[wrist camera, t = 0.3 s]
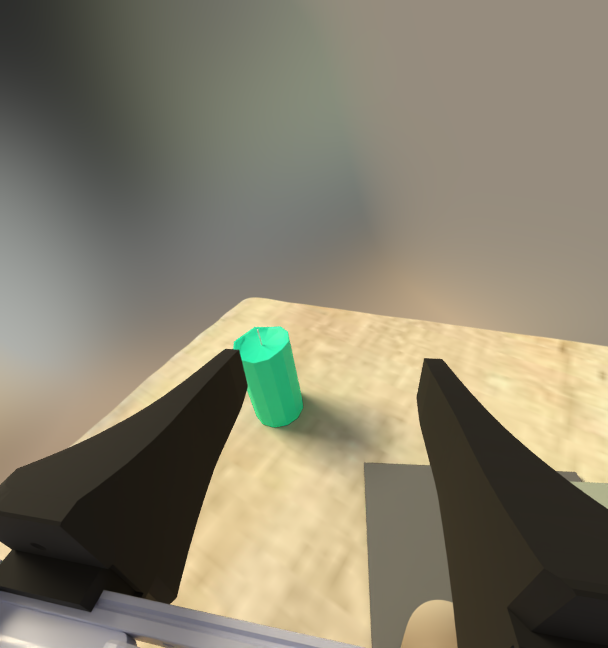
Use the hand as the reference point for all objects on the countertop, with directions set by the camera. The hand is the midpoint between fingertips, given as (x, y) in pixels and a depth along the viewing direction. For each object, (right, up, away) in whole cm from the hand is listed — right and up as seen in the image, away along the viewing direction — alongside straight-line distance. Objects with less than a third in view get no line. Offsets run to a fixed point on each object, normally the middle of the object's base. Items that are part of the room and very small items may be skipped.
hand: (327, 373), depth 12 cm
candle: (-4, -8, +25) cm, 26 cm away
